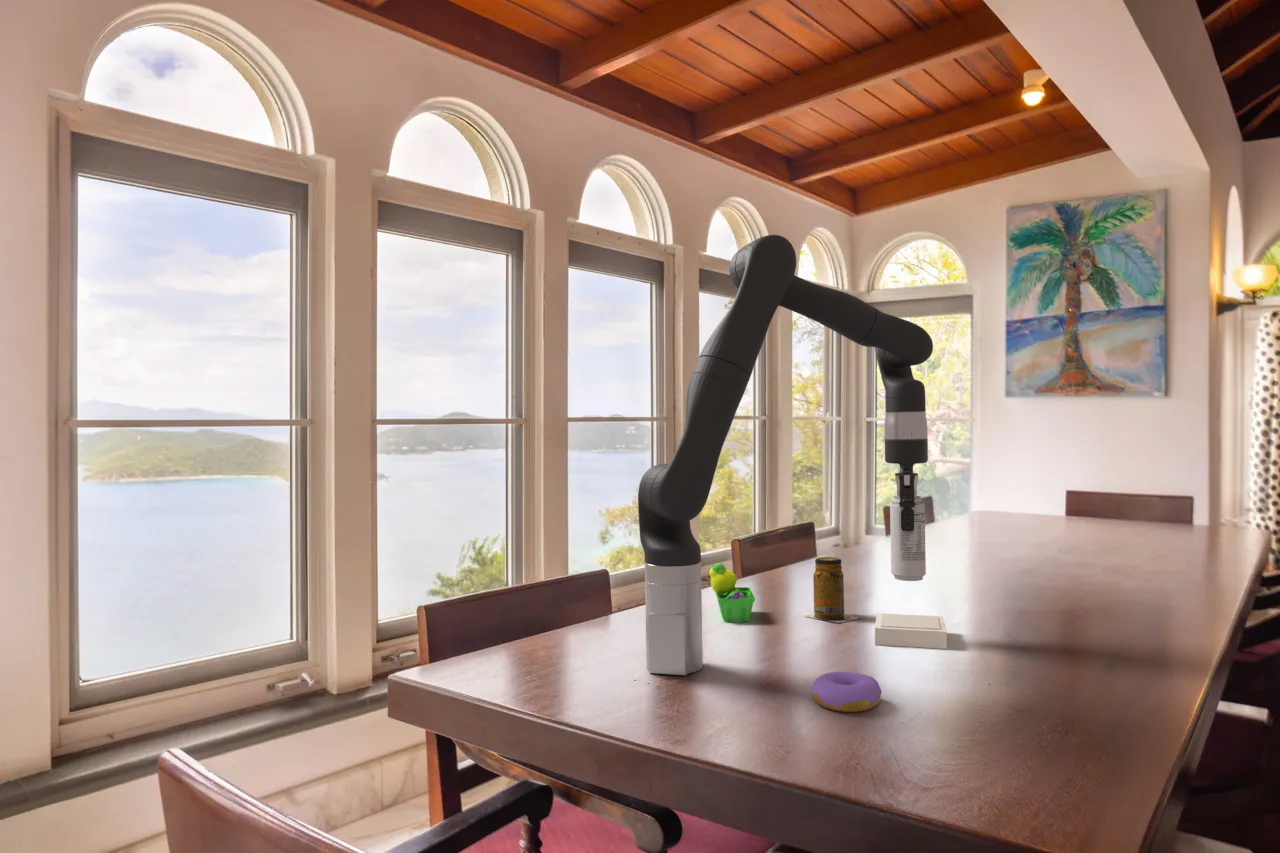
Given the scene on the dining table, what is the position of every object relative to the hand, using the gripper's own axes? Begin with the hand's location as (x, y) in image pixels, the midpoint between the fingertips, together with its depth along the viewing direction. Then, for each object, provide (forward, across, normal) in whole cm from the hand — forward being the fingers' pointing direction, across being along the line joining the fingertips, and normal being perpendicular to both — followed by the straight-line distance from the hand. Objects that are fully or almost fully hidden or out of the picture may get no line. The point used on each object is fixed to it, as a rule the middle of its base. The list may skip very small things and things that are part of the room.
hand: (907, 528), depth 152 cm
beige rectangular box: (+20, 0, 0) cm, 20 cm away
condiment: (+20, +14, +15) cm, 29 cm away
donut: (+21, -39, +9) cm, 45 cm away
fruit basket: (+20, +10, +35) cm, 42 cm away
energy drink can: (+9, 0, 0) cm, 9 cm away
